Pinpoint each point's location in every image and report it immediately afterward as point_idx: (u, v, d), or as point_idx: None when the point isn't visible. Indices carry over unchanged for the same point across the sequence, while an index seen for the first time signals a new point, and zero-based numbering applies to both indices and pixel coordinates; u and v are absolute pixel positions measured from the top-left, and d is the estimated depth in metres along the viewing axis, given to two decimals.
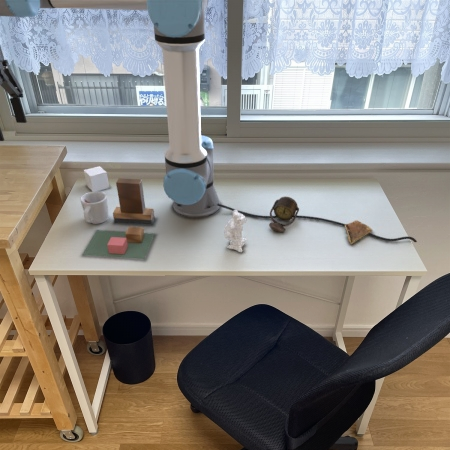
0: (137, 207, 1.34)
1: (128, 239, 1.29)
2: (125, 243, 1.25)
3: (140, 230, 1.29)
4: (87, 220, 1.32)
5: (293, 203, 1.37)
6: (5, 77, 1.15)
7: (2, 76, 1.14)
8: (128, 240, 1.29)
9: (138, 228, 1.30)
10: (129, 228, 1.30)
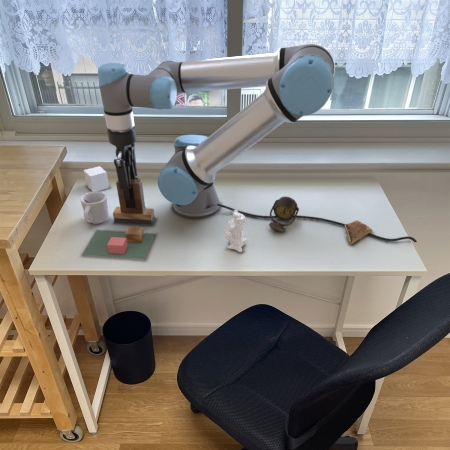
0: (137, 207, 1.34)
1: (128, 239, 1.29)
2: (125, 243, 1.25)
3: (140, 230, 1.29)
4: (87, 220, 1.32)
5: (293, 203, 1.37)
6: (132, 155, 1.26)
7: None
8: (128, 240, 1.29)
9: (138, 228, 1.30)
10: (129, 228, 1.30)
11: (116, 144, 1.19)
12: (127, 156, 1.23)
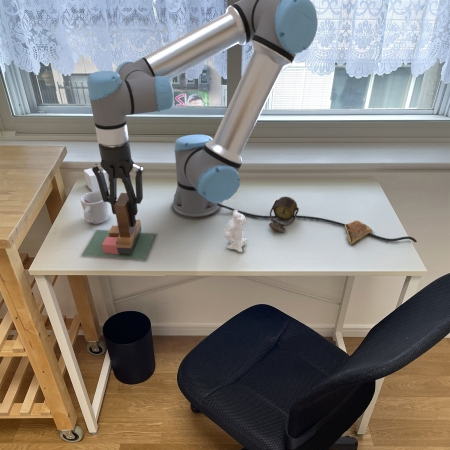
0: None
1: None
2: None
3: None
4: (87, 220, 1.32)
5: (293, 203, 1.37)
6: (122, 177, 1.13)
7: None
8: None
9: None
10: (112, 227, 1.30)
11: None
12: None
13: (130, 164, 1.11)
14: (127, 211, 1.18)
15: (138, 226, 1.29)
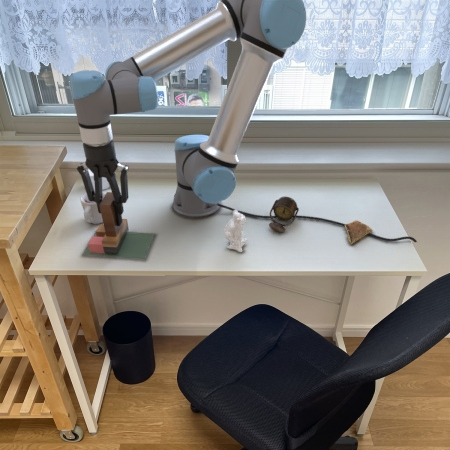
0: None
1: None
2: None
3: None
4: (87, 220, 1.32)
5: (293, 203, 1.37)
6: (107, 176, 1.13)
7: None
8: None
9: None
10: (100, 226, 1.31)
11: None
12: None
13: (115, 163, 1.11)
14: (112, 210, 1.19)
15: (125, 225, 1.29)
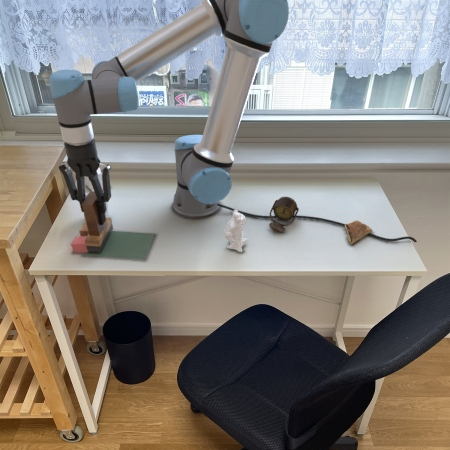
0: None
1: None
2: None
3: None
4: None
5: (293, 203, 1.37)
6: (89, 175, 1.13)
7: None
8: None
9: None
10: (84, 225, 1.31)
11: None
12: None
13: (96, 162, 1.12)
14: (95, 209, 1.19)
15: (109, 224, 1.29)
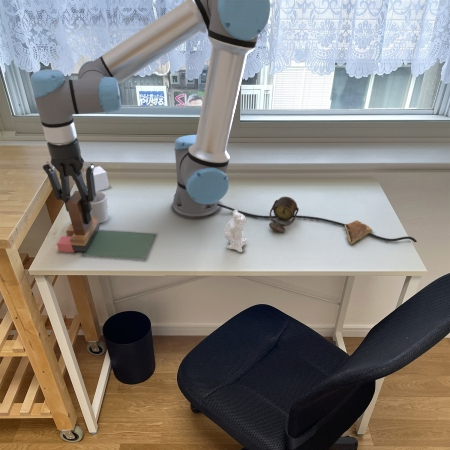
0: None
1: None
2: None
3: None
4: None
5: (293, 203, 1.37)
6: (72, 175, 1.14)
7: None
8: None
9: None
10: (70, 225, 1.32)
11: None
12: (59, 169, 1.13)
13: (80, 162, 1.12)
14: (79, 209, 1.19)
15: (95, 224, 1.30)
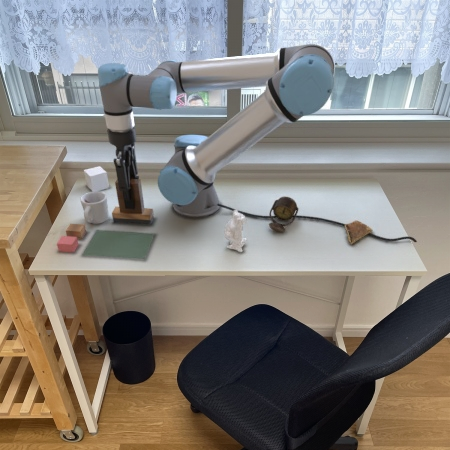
0: (136, 207, 1.34)
1: None
2: (75, 242, 1.26)
3: (81, 227, 1.31)
4: (87, 220, 1.32)
5: (292, 203, 1.37)
6: (132, 155, 1.26)
7: None
8: None
9: (79, 225, 1.32)
10: (70, 225, 1.32)
11: (116, 144, 1.19)
12: (127, 156, 1.23)
13: None
14: None
15: None
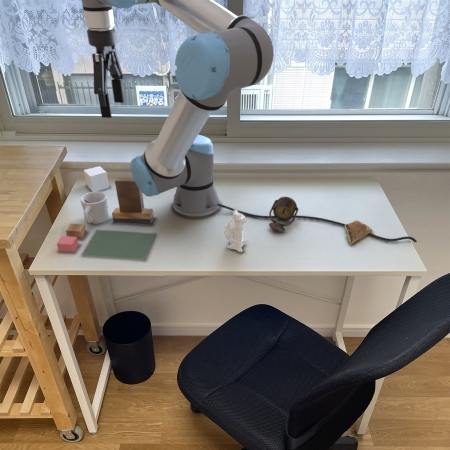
0: (136, 206, 1.35)
1: None
2: (75, 242, 1.26)
3: (81, 227, 1.31)
4: (87, 220, 1.32)
5: (292, 203, 1.37)
6: (114, 59, 1.26)
7: (112, 58, 1.25)
8: None
9: (79, 225, 1.32)
10: (70, 225, 1.32)
11: (95, 44, 1.18)
12: (107, 58, 1.21)
13: (110, 46, 1.24)
14: None
15: None
